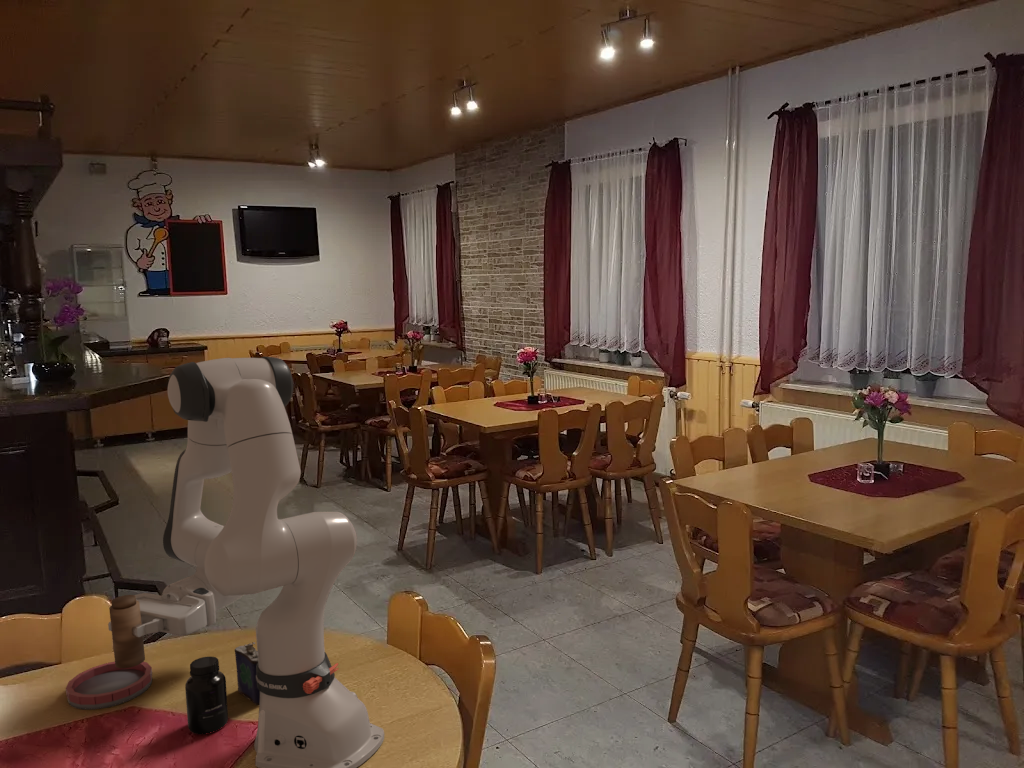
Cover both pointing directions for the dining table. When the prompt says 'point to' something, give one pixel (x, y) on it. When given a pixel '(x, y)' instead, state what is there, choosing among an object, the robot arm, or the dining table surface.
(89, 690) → the round tray
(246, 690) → the flask
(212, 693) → the supplement bottle
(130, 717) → the dining table surface
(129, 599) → the pepper mill
